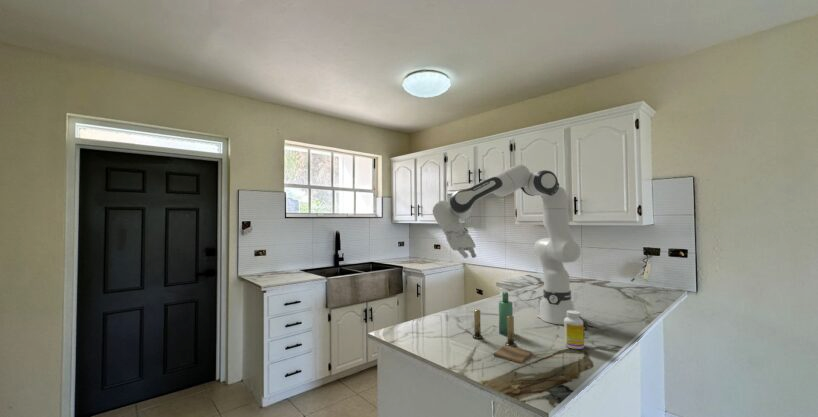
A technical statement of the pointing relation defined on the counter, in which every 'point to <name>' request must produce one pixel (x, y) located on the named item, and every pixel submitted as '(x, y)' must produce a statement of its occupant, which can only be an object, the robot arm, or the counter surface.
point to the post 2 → (510, 331)
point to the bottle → (504, 313)
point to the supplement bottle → (573, 330)
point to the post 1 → (477, 325)
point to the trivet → (513, 354)
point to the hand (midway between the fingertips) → (470, 257)
